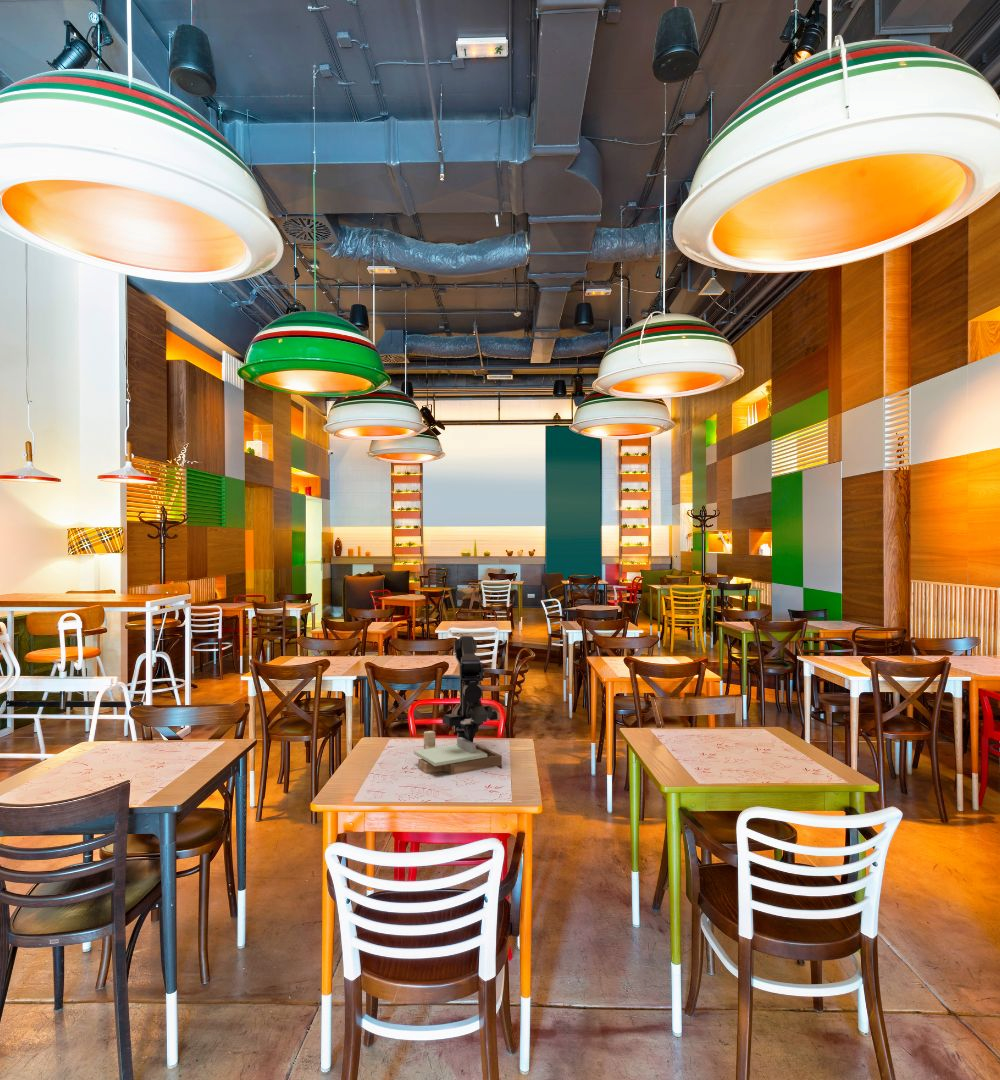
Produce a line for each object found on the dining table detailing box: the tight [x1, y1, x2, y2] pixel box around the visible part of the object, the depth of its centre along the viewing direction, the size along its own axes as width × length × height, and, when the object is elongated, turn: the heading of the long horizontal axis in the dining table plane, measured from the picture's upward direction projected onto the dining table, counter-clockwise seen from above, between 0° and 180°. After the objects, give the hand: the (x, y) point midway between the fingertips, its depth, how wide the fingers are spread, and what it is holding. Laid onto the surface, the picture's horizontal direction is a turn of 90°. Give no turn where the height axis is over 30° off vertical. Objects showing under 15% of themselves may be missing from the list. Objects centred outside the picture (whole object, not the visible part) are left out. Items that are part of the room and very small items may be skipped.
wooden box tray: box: [417, 744, 503, 776], centre depth 220 cm, size 16×25×4 cm, turn 122°
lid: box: [413, 737, 487, 766], centre depth 218 cm, size 16×19×4 cm
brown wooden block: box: [423, 730, 436, 749], centre depth 231 cm, size 3×3×9 cm
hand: (470, 742), depth 222 cm, fingers closed
